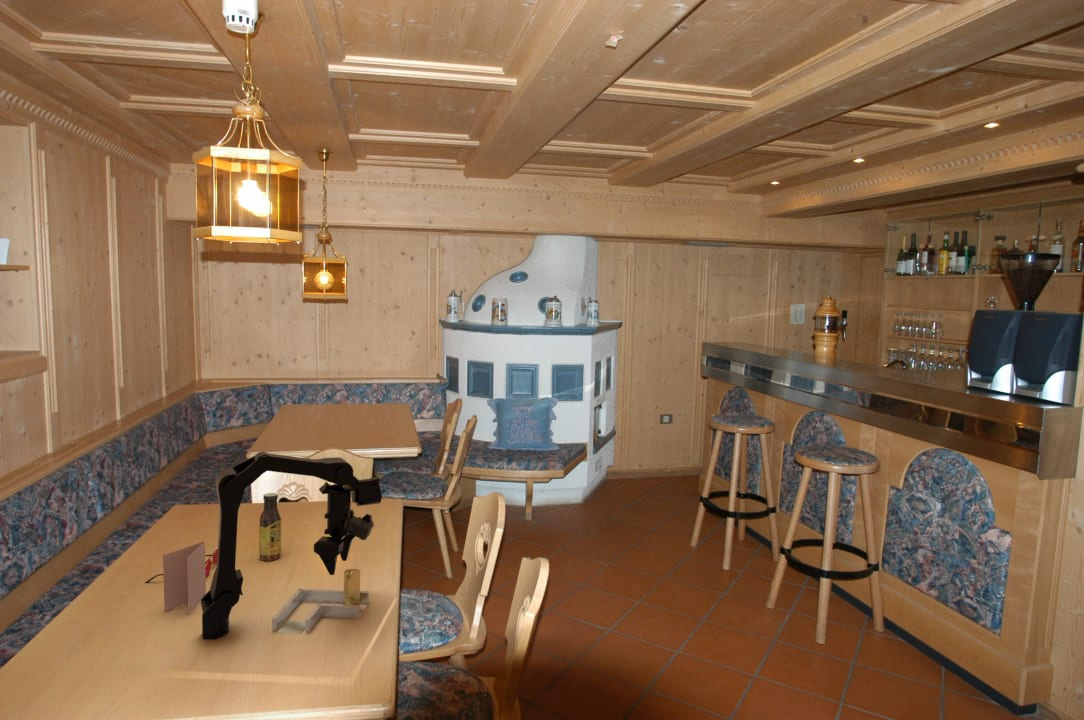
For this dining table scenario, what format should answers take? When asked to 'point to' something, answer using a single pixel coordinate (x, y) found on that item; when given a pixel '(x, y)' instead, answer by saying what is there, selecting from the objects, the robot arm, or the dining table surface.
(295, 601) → the steel rails
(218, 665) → the dining table surface
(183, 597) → the greeting card
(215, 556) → the glasses
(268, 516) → the sauce bottle
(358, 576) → the brass peg
